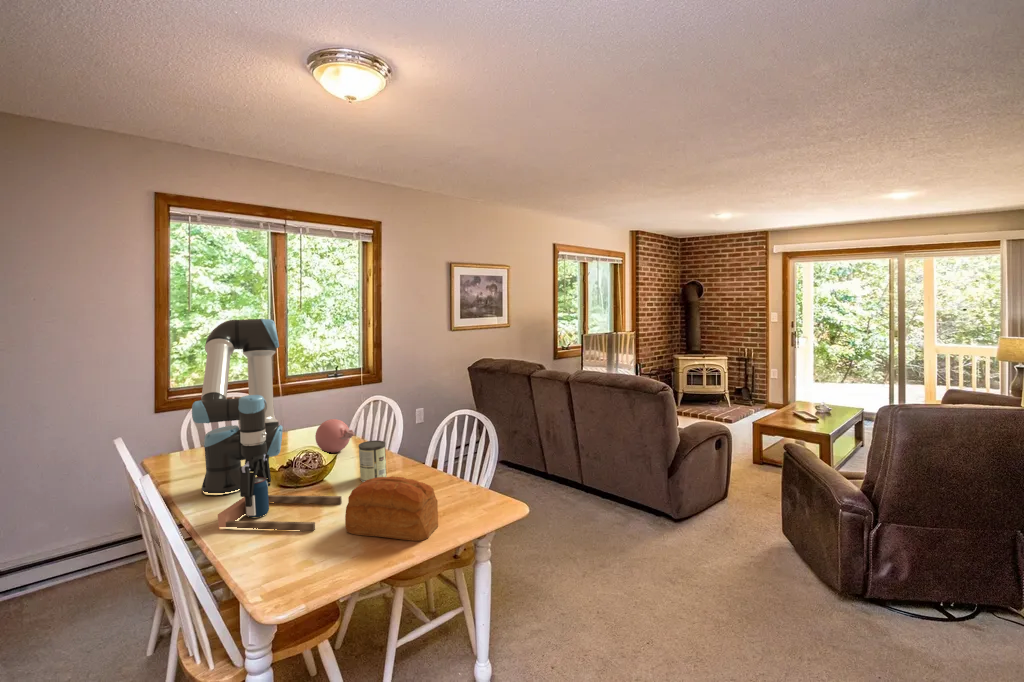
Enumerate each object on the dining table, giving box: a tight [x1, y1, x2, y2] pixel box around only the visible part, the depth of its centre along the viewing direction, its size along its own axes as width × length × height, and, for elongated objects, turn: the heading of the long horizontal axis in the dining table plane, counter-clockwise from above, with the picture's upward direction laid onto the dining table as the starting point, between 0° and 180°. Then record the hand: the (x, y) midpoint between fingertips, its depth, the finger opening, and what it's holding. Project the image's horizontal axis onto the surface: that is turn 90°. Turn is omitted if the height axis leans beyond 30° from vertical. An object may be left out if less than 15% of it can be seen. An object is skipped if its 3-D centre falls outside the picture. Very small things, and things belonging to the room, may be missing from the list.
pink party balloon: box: [314, 418, 356, 454], centre depth 244 cm, size 15×20×15 cm
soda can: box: [245, 476, 270, 518], centre depth 174 cm, size 7×7×12 cm
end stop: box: [217, 497, 246, 528], centre depth 175 cm, size 2×22×5 cm, turn 176°
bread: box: [344, 476, 439, 542], centre depth 163 cm, size 16×27×16 cm, turn 76°
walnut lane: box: [226, 494, 343, 532], centre depth 174 cm, size 28×22×2 cm
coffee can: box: [358, 440, 388, 483], centre depth 208 cm, size 10×10×14 cm
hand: (257, 510), depth 175 cm, fingers closed on soda can, 7 cm apart
